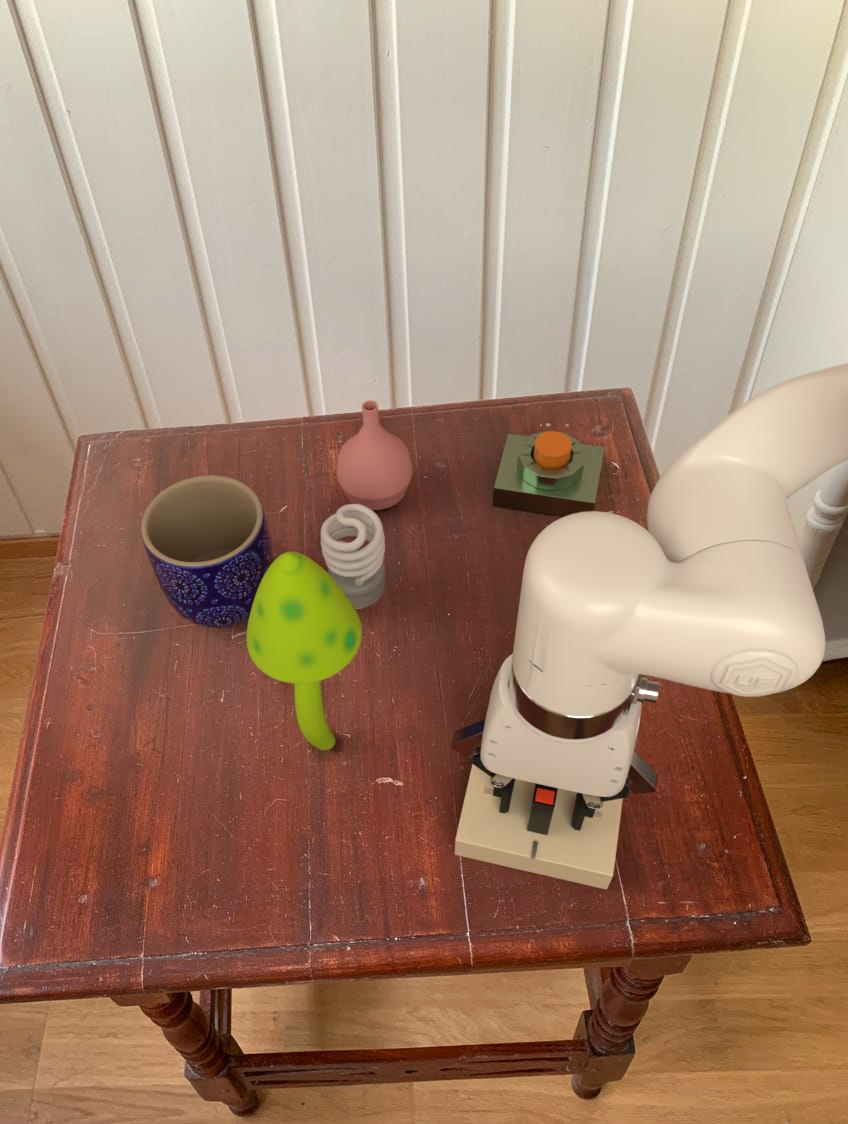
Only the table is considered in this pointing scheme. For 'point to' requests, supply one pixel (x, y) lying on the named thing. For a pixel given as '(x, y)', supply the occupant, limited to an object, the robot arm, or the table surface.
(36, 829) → the table surface
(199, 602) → the planter
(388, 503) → the pink vase
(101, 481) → the table surface
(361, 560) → the light bulb
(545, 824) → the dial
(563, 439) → the button
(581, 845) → the panel
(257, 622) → the mushroom
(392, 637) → the table surface
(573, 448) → the control block
